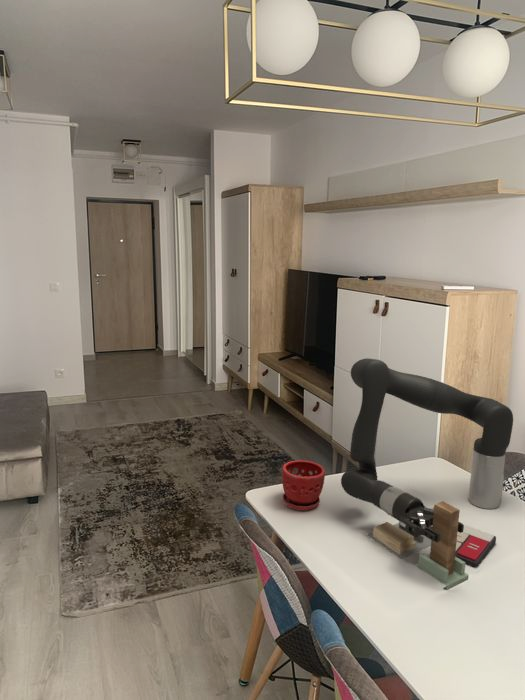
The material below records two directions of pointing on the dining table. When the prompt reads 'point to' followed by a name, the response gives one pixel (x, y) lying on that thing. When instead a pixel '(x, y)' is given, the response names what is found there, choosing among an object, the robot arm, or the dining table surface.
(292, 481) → the plant pot
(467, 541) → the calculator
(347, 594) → the dining table surface
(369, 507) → the dining table surface
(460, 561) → the board holder
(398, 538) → the offcut stack
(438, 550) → the tall board
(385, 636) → the dining table surface
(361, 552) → the dining table surface
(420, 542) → the rack
